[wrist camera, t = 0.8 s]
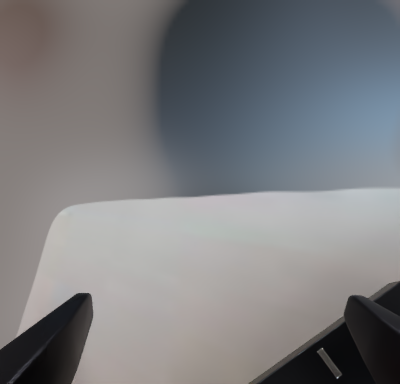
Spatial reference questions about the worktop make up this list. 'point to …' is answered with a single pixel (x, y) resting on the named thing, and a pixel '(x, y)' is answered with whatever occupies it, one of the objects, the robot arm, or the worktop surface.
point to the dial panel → (330, 353)
